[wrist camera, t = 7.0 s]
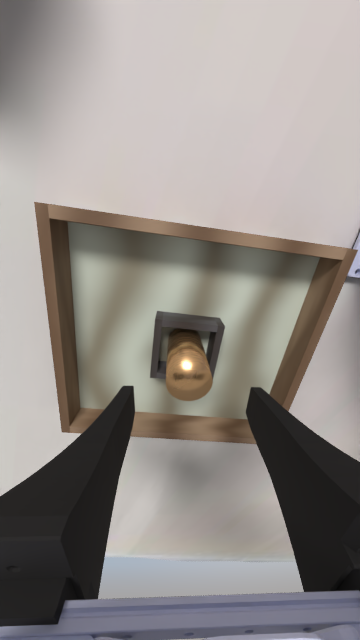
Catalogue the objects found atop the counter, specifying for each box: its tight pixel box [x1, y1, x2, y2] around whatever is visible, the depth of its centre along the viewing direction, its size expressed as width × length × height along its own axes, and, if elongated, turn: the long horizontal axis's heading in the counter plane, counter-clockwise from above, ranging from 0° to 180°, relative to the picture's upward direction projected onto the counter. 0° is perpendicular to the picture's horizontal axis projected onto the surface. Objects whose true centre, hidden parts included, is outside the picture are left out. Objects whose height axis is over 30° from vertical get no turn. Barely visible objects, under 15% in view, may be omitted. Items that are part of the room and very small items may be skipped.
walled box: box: [34, 202, 358, 444], centre depth 18 cm, size 22×20×3 cm
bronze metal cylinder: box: [166, 328, 213, 401], centre depth 16 cm, size 3×3×6 cm
